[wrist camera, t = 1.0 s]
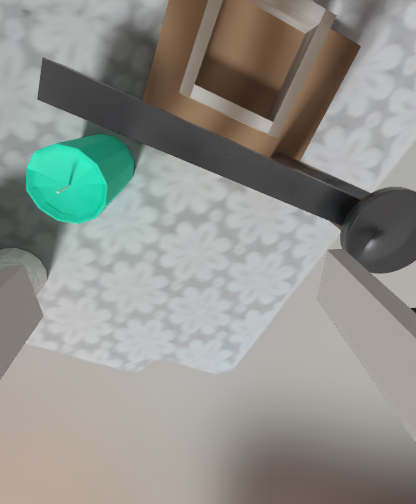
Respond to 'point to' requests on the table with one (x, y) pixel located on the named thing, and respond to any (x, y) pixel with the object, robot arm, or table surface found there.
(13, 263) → the white cup
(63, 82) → the bar
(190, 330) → the table surface
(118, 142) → the candle
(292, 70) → the board
